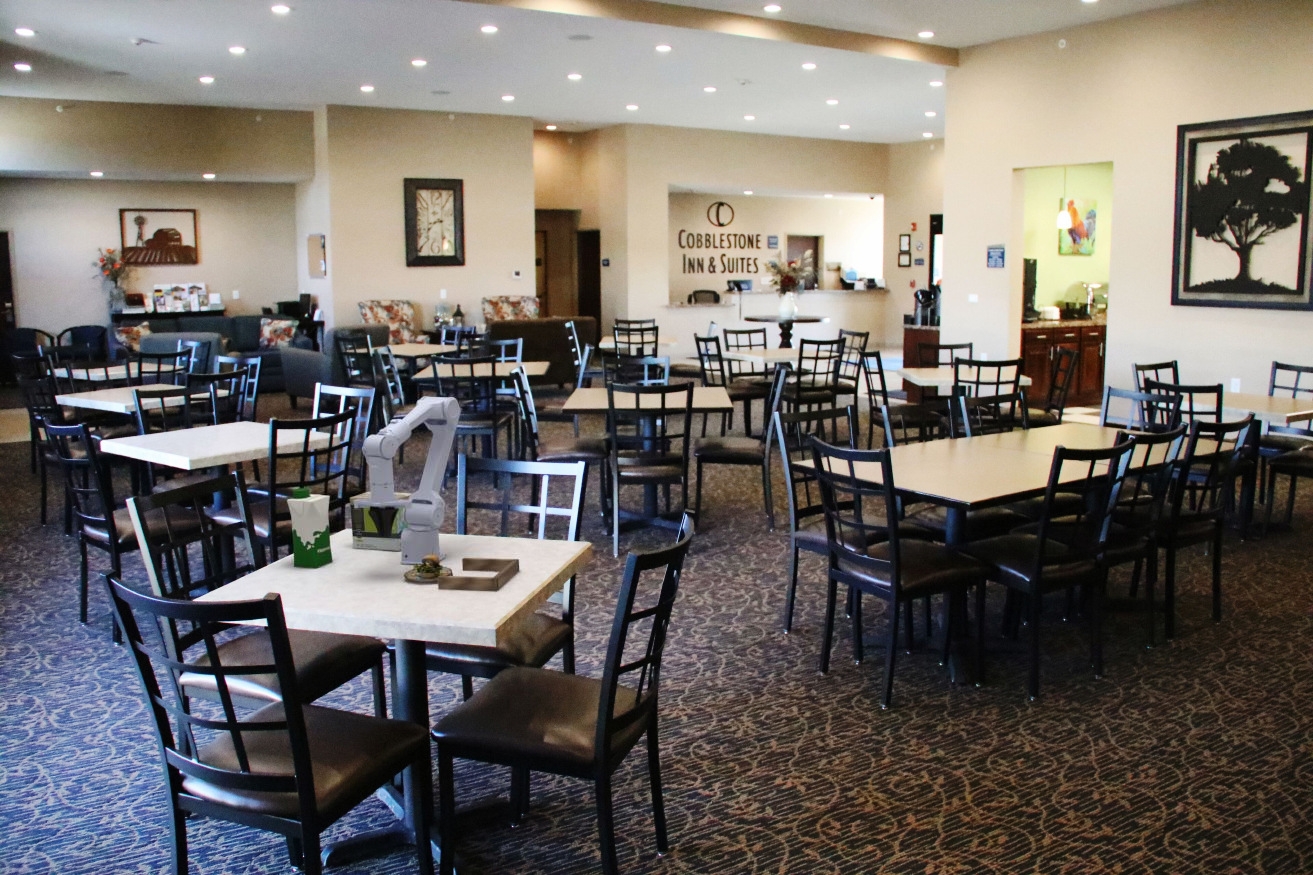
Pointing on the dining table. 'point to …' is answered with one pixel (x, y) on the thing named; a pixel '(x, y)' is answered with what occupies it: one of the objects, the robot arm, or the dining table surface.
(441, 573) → the burger
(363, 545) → the tea box
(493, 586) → the open wooden frame
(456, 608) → the dining table surface
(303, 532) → the milk carton
